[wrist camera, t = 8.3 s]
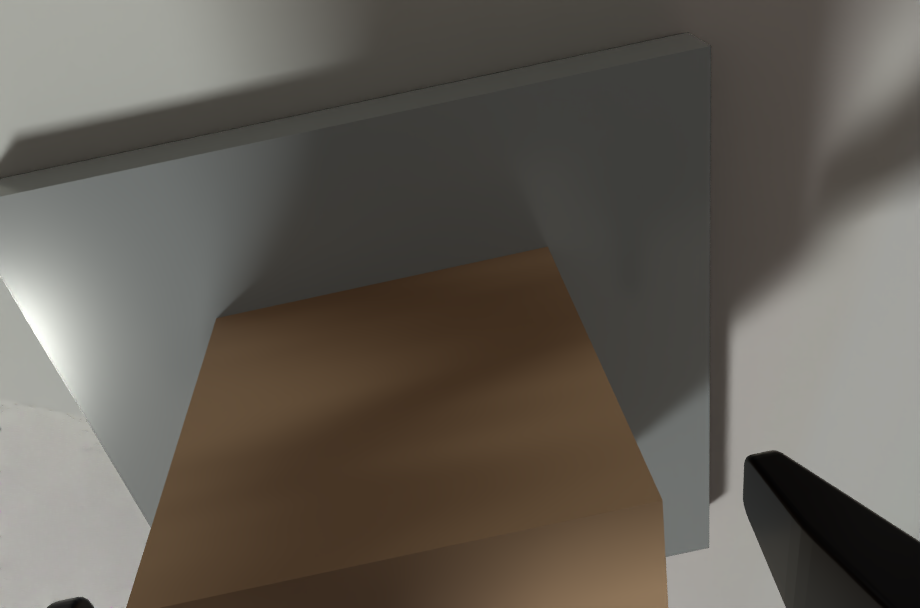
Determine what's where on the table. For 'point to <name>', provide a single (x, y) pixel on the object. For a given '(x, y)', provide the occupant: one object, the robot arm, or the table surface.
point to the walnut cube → (408, 457)
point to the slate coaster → (391, 241)
